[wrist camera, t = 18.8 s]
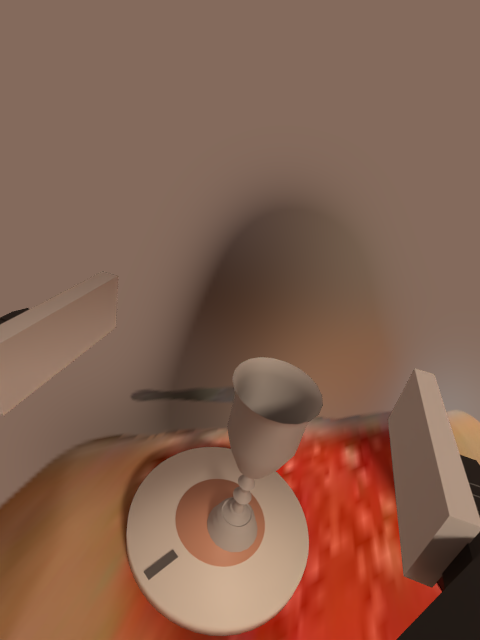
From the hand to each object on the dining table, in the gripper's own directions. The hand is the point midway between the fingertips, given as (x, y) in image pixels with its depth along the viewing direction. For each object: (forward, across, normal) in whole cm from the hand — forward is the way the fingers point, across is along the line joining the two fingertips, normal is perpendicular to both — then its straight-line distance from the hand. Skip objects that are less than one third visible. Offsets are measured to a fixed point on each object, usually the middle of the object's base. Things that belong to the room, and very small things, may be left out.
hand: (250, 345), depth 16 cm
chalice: (+9, +1, -27) cm, 28 cm away
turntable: (+10, 0, -28) cm, 30 cm away
